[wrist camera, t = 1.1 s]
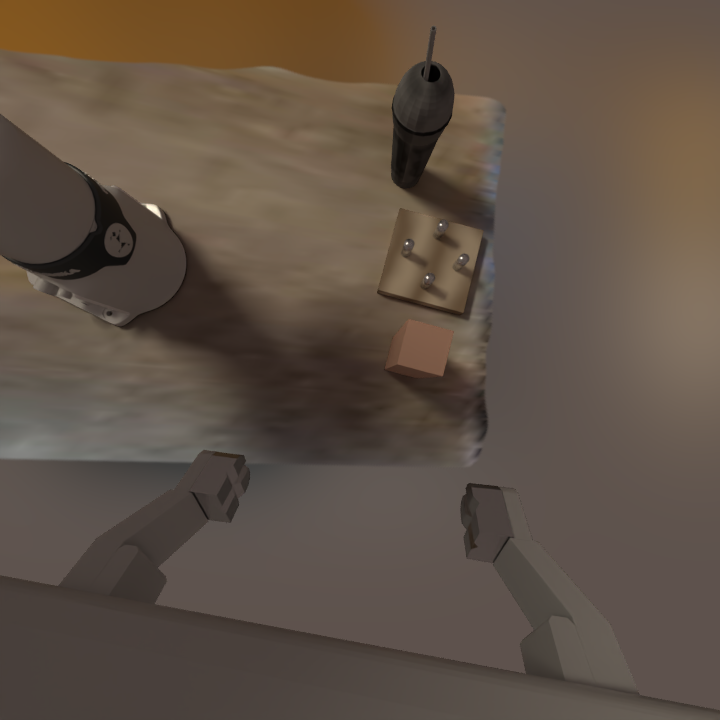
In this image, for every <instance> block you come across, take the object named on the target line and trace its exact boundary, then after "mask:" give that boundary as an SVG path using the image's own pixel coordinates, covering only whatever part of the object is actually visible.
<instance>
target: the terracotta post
mask: <svg viewBox="0 0 720 720" xmlns="http://www.w3.org/2000/svg"><path fill="white" fill-rule="evenodd" d="M453 333H454V331H451V330H447V329H444V328H440V327H436V326H433V325H429V324H425V323H421V322H418V321H414V320H410V319H408V321H407V322H406V323H405V324H404V325H403V326H402V327H401V329H400V330H399V331H398V332H397V333H396V334H395V336H394V337H393V338H392V342H391V346H390V350H389V354H388V358H387V361H386V365H385V369H384V370H387V371H391V372H395V373H398V374H402V375H406V376H410V377H413V378H429V377H442V376H443V374H444V370H445V366H446V362H447V358H448V353H449V349H450V345H451V341H452V337H453Z"/></svg>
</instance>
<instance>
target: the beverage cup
mask: <svg viewBox="0 0 720 720" xmlns="http://www.w3.org/2000/svg"><path fill="white" fill-rule="evenodd" d="M435 34H436V26H432V27H431V30H430V37H429V43H428V50H427V57H426V61H424V62H420V63H418V64H416V65H414V66H413V67H412V68H411V69H409V70H408V71H407V72H406V73H405V75H404V76H403V78H402V79H401V81H400V83H399V85H398V87H397V90H396V93H395V95H394V98H393V103H392V111H393V124H394V129H393V145H392V161H391V176H392V180H393V182H394V183H395V184H396V185H397V186H399V187H401V188H410V187H412V186H414V185H415V184H416V183H417V182H418V180H419V178H420V177H421V175H422V173H423V171H424V168H425V166H426V164H427V162H428V160H429V158H430V155H431V153H432V151H433V149H434V147H435V145H436V142H437V140H438V138H439V137H440V135H441V134H442V132H443V130H444V129H445V127H446V126H447V125H448V123H449V121H450V119H451V117H452V110H453V103H454V88H453V83H452V79H451V77H450V75H449V74H448V71H447V70H446V69H445V68H444V67H443V66H442V65H441V64H439V63H437V62H433V61H431V58H432V53H433V46H434V40H435Z"/></svg>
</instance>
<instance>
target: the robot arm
mask: <svg viewBox="0 0 720 720" xmlns="http://www.w3.org/2000/svg"><path fill="white" fill-rule="evenodd" d="M0 255H2V256H3V257H4V258H6V259H7V260H9V261H11V262H12V263H13V264H15V265H17V266H19V267H21V268H23V269H24V270H26V271H27V275H28V279H29V282H30V283H31V284H33V288H34V289H36V290H39V291H41V292H44V293H47V294H50V295H53V296H56V297H59V298H61V299H63V300H65V301H67V302H69V303H71V304H73V305H75V306H77V307H79V308H81V309H83V310H85V311H87V312H89V313H91V314H93V315H95V316H97V317H99V318H101V319H103V320H105V321H107V322H109V323H111V324H114V325H116V326H124V325H126V324H127V323H129V322H130V321H131V320H133V319H134V318H135V317H136V316H137V315H139V314H141V313H144V312H147V311H150V310H153V309H156V308H158V307H160V306H161V305H163V304H165V303H166V302H167V301H168V300H170V299H171V298H172V297H173V296H174V294H175V293H176V292H177V291H178V289H179V287H180V286H181V284H182V281H183V279H184V276H185V271H186V255H185V251H184V248H183V246H182V243H181V242H180V240H179V238H178V237H177V236H176V235H175V233H174V232H173V231H172V230H171V229H170V227H169V226H168V224H167V220H166V217H165V214H164V212H163V210H162V209H161V208H159V207H158V206H157V205H155V204H147V203H140V202H138V201H137V200H136V199H134V198H133V197H131V196H130V195H129V194H127V193H126V192H125V191H123V190H122V189H120V188H119V187H117V186H114V185H112V186H107V185H101V184H100V183H99V182H97V181H96V180H95V179H94V178H92V177H91V176H90V175H88V174H86V173H84V172H83V171H81V170H80V169H78V168H76V167H75V166H73V165H71V164H68V163H66V162H63V161H62V160H60V159H59V158H58V157H56V156H55V155H54V154H52V153H51V152H50V151H49V150H47V149H46V148H45V147H43V146H42V145H41V144H39V143H38V142H37V141H35V140H34V139H33V138H31V137H30V136H29V135H28V134H26V133H25V132H24V131H22V130H21V129H20V128H18V127H17V126H16V125H14V124H13V123H12V122H11V121H9V120H8V119H7V118H5V117H4V116H3V115H1V114H0ZM111 312H112V315H111V316H110V314H111ZM245 462H246V460H245V457H244V455H237V454H230V453H222V452H216V451H207V450H203V451H202V452H201V453H199V454H198V456H197V457H196V459H195V460H194V462H193V463H192V465H191V466H190V468H189V469H188V470H187V472H186V473H185V475H184V476H183V478H182V479H181V480H180V482H179V483H178V485H177V486H176V488H175V489H174V490H169V491H167V492H166V493H164V494H163V495H161V496H160V497H158V498H157V499H155V500H154V501H152V502H151V503H149V504H148V505H146V506H145V507H143V508H141V509H140V510H138V511H137V512H135V513H134V514H132V515H131V516H129V517H128V518H126V519H125V520H123V521H122V522H120V523H119V524H117V525H116V526H114V527H113V528H111V529H110V530H108V531H107V532H105V533H104V534H102V535H101V536H99V537H98V538H96V539H95V541H94V542H93V543H92V544H91V546H90V547H89V548H88V549H87V551H86V552H85V553H84V554H83V556H82V557H81V558H80V560H79V561H78V562H77V563H76V565H75V566H74V567H73V568H72V569H71V571H70V572H69V573H68V574H67V576H66V577H65V578H64V579H63V581H62V582H61V583H60V584H59V586H55V585H49V584H44V583H39V582H34V581H28V580H23V579H18V578H12V577H7V576H2V575H0V720H720V710H716V709H711V708H705V707H700V706H695V705H689V704H684V703H678V702H673V701H668V700H662V699H658V698H652V697H647V696H642V695H639V692H638V690H637V687H636V685H635V682H634V680H633V678H632V675H631V673H630V671H629V668H628V666H627V664H626V661H625V658H624V656H623V654H622V651H621V649H620V647H619V644H618V642H617V639H616V637H615V634H614V632H613V630H612V627H611V625H610V624H609V622H608V621H607V620H606V619H605V617H604V616H603V615H602V614H601V613H600V612H599V611H598V610H597V608H596V607H595V606H594V605H593V604H592V603H591V602H590V600H589V599H588V598H587V597H586V596H585V595H584V594H583V593H582V591H581V590H580V589H579V588H578V587H577V586H576V584H575V583H574V582H573V581H572V580H571V579H570V578H569V576H568V575H567V574H566V573H565V572H564V571H563V570H562V569H561V567H560V566H559V565H558V564H557V563H556V562H555V561H554V559H553V558H552V557H551V556H550V555H549V554H548V553H547V551H545V549H544V548H543V547H542V546H541V545H540V544H539V542H537V541H533V539H532V536H531V533H530V530H529V526H528V523H527V520H526V517H525V514H524V511H523V508H522V504H521V501H520V498H519V495H518V492H517V491H516V489H513V488H505V487H498V486H491V485H482V484H472V483H469V484H467V487H466V494H465V495H464V496H463V498H462V501H461V520H462V524H463V526H464V527H465V528H466V529H467V531H466V533H465V535H464V543H465V550H466V557H467V559H473V560H478V561H484V562H490V563H494V564H493V566H494V567H495V569H496V570H497V572H498V573H499V575H500V577H501V578H502V580H503V581H504V583H505V584H506V586H507V587H508V589H509V591H510V592H511V594H512V595H513V597H514V599H515V600H516V602H517V603H518V605H519V607H520V608H521V610H522V611H523V613H524V614H525V616H526V618H527V619H528V621H529V622H530V624H531V625H532V627H533V628H534V631H533V632H531V633H530V634H529V635H528V636H527V637H526V638H524V639H523V640H522V642H521V643H520V647H521V652H522V656H523V661H524V666H525V671H526V674H523V673H519V672H513V671H508V670H503V669H498V668H492V667H487V666H481V665H476V664H471V663H466V662H460V661H455V660H449V659H444V658H439V657H434V656H428V655H423V654H418V653H412V652H407V651H402V650H396V649H391V648H385V647H380V646H375V645H370V644H364V643H359V642H354V641H348V640H343V639H337V638H332V637H327V636H321V635H316V634H311V633H306V632H300V631H295V630H290V629H284V628H279V627H274V626H268V625H263V624H257V623H252V622H247V621H241V620H236V619H231V618H226V617H220V616H215V615H210V614H204V613H199V612H194V611H188V610H183V609H178V608H172V607H167V606H161V605H156V604H155V602H156V600H157V598H158V596H159V595H160V593H161V591H162V589H163V587H164V585H165V584H166V576H165V575H164V574H163V573H162V572H161V571H160V570H159V569H158V567H159V566H160V565H161V564H162V563H163V562H164V561H166V560H167V559H168V558H169V557H170V556H171V555H172V554H173V553H174V552H175V551H176V550H178V549H179V548H180V547H181V546H182V545H183V544H184V543H185V542H186V541H188V540H189V539H190V538H191V537H192V536H193V535H194V534H195V533H196V532H197V531H198V530H199V529H201V528H202V527H203V526H204V525H205V524H206V523H207V522H208V520H212V521H221V522H229V523H230V522H231V521H232V519H233V516H234V514H235V512H236V510H237V508H238V506H239V501H238V498H239V497H240V496H242V495H243V494H244V493H245V491H246V489H247V487H248V484H249V480H250V471H249V468H248V467H246V466H245V465H244V464H245Z"/></svg>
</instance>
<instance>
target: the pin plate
mask: <svg viewBox="0 0 720 720" xmlns="http://www.w3.org/2000/svg"><path fill="white" fill-rule="evenodd" d="M482 234H483V230H480V229H476V228H472V227H468V226H465V225H461V224H457V223H454V222H450V221H446V220H443V219H439V218H435V217H431V216H428V215H424V214H420V213H417V212H413V211H409V210H405V209H402V208H400V209H399V213H398V217H397V221H396V224H395V228H394V232H393V235H392V239H391V243H390V247H389V250H388V254H387V258H386V262H385V265H384V269H383V273H382V276H381V280H380V284H379V288H378V291H377V293H380V294H383V295H387V296H391V297H395V298H398V299H402V300H406V301H409V302H413V303H417V304H421V305H424V306H428V307H432V308H435V309H439V310H443V311H447V312H450V313H454V314H458V315H461V314H462V313H464V309H465V305H466V300H467V296H468V292H469V288H470V284H471V280H472V276H473V272H474V267H475V263H476V259H477V255H478V251H479V247H480V243H481V239H482Z"/></svg>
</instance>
